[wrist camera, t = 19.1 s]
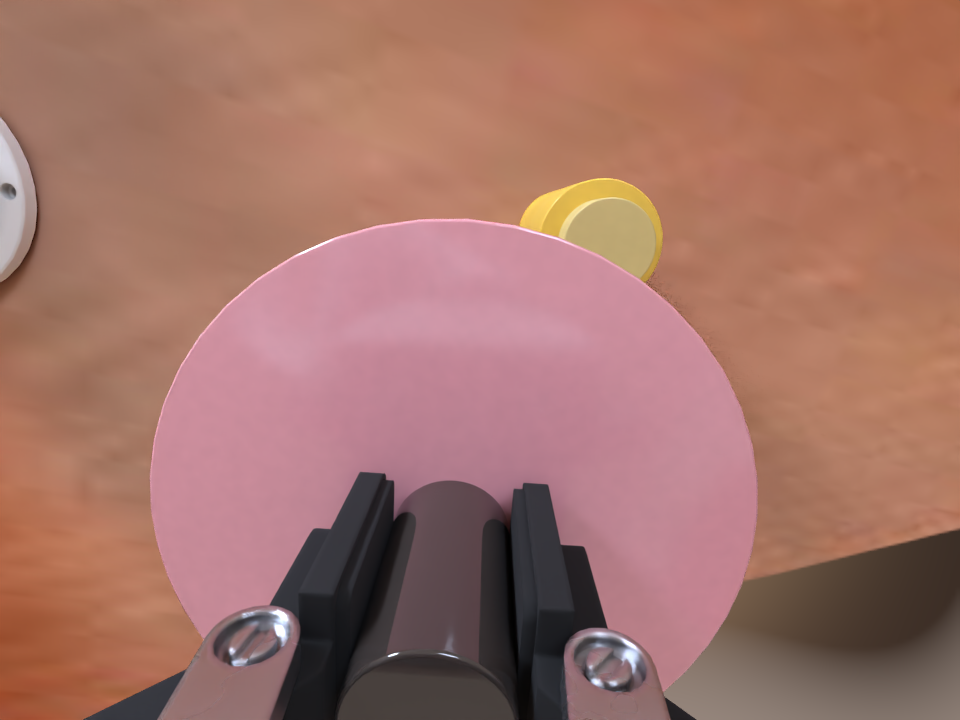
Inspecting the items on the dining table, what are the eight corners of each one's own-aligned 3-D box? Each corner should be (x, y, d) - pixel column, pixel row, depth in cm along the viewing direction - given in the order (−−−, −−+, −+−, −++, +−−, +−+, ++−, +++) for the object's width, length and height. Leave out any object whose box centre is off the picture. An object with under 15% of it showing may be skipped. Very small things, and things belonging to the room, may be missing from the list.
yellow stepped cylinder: (515, 269, 31) (536, 307, 19) (522, 188, 30) (550, 169, 18) (593, 275, 31) (665, 317, 19) (603, 194, 30) (688, 180, 18)
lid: (199, 705, 15) (16, 1012, 9) (151, 197, 11) (-199, 179, 6) (685, 738, 15) (808, 1068, 9) (790, 239, 11) (1101, 264, 6)
